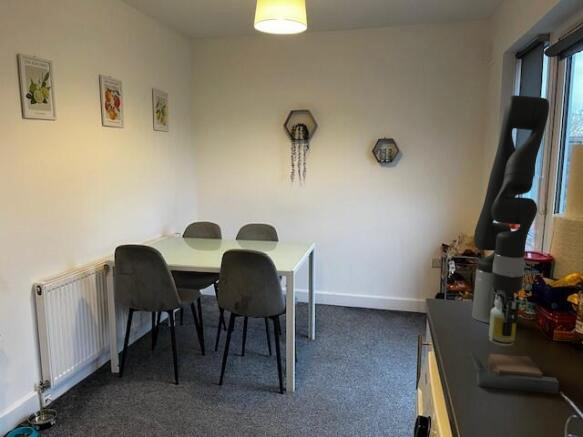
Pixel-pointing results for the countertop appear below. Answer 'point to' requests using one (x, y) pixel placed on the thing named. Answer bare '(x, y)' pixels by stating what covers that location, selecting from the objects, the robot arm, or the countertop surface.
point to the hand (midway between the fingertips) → (502, 330)
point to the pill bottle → (499, 327)
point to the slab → (513, 365)
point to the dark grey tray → (513, 380)
